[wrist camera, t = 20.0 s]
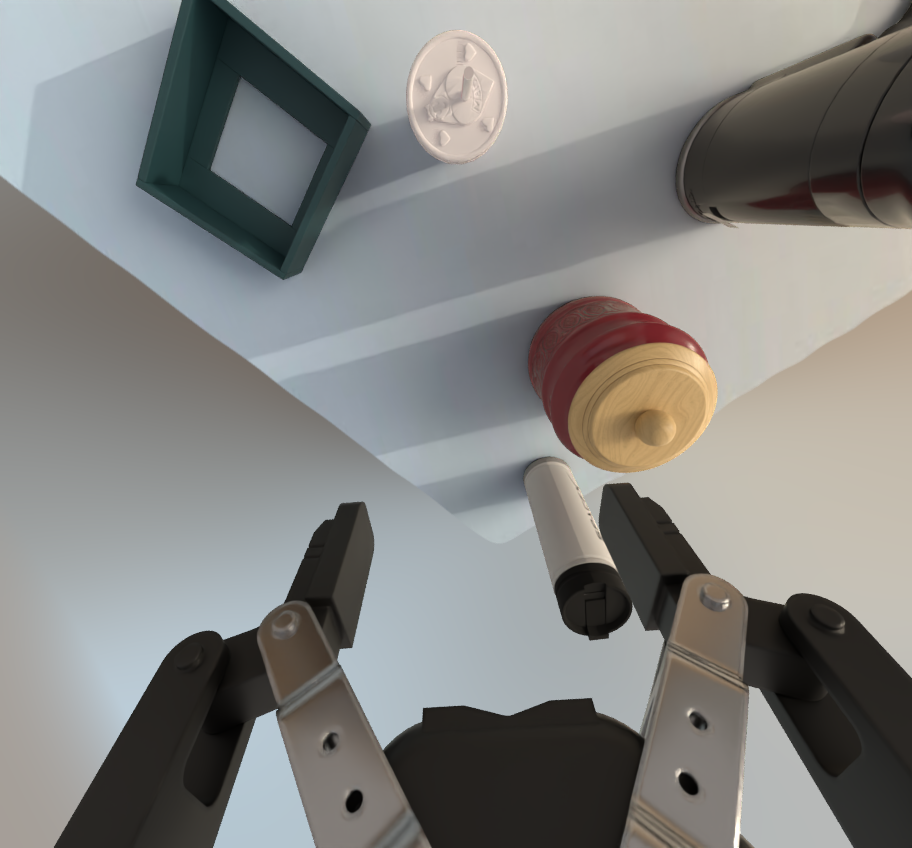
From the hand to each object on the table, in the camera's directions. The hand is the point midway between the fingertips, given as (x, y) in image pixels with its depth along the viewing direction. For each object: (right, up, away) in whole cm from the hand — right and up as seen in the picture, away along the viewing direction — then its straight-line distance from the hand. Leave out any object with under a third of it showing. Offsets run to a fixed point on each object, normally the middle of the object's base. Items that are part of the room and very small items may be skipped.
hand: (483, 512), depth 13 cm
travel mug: (+11, -4, +37) cm, 39 cm away
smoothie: (-1, +28, +19) cm, 34 cm away
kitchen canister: (+13, +11, +29) cm, 34 cm away
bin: (-17, +26, +20) cm, 37 cm away
